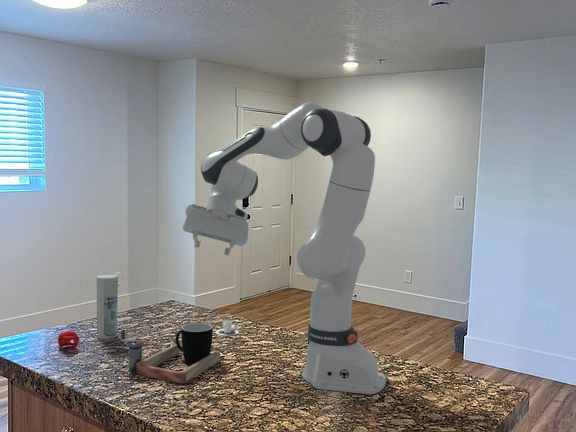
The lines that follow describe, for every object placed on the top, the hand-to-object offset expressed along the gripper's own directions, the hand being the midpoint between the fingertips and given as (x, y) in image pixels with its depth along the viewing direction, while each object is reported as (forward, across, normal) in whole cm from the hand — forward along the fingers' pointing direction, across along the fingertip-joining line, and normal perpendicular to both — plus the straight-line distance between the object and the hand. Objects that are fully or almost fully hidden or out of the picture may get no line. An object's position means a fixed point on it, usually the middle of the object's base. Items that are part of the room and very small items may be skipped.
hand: (211, 250), depth 165 cm
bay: (+35, -2, +4) cm, 35 cm away
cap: (+31, -33, +27) cm, 53 cm away
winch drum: (+37, -14, +7) cm, 41 cm away
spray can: (+24, -23, +35) cm, 48 cm away
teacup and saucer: (+15, +18, +30) cm, 38 cm away
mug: (+32, +2, +9) cm, 33 cm away
